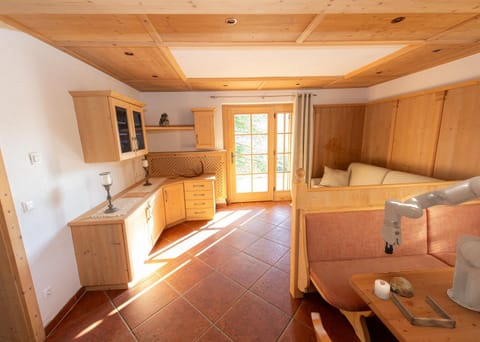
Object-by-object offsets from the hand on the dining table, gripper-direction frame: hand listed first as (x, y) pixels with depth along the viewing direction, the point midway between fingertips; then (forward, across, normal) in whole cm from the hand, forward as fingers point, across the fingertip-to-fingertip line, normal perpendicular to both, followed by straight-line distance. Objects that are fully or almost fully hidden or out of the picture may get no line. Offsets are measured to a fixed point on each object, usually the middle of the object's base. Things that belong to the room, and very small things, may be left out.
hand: (388, 253), depth 107 cm
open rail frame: (+13, -24, -1) cm, 27 cm away
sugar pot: (+14, -14, +10) cm, 22 cm away
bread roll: (+14, -10, -1) cm, 18 cm away
